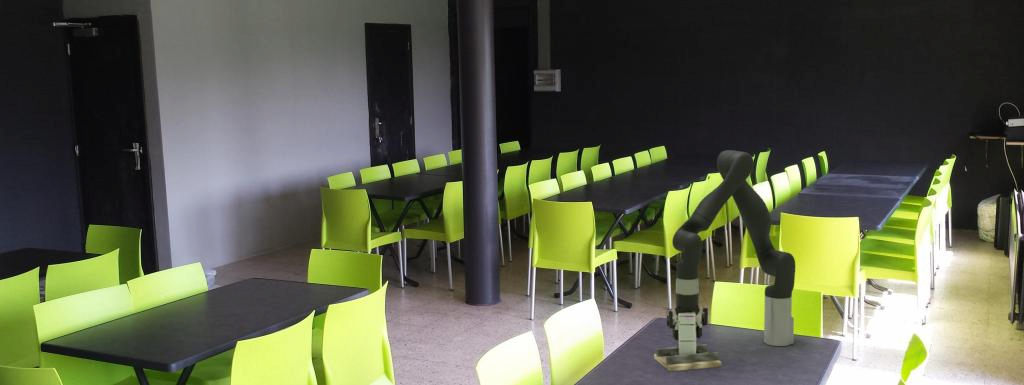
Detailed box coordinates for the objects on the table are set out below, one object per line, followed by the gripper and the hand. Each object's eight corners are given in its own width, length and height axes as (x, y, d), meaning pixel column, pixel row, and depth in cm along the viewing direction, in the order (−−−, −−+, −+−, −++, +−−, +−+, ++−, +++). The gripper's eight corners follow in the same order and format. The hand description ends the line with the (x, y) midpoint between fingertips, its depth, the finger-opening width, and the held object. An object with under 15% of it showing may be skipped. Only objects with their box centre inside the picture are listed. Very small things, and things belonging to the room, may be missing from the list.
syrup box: (696, 356, 296) (696, 313, 294) (678, 355, 297) (678, 313, 295) (696, 350, 301) (696, 309, 299) (678, 350, 302) (678, 308, 300)
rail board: (703, 353, 308) (703, 342, 308) (721, 366, 294) (721, 354, 294) (654, 358, 304) (654, 346, 304) (669, 371, 291) (669, 359, 290)
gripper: (702, 286, 301) (702, 334, 303) (662, 290, 298) (662, 337, 301) (712, 292, 294) (712, 340, 296) (671, 295, 291) (671, 344, 293)
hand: (687, 338), depth 298 cm, fingers closed on syrup box, 7 cm apart
